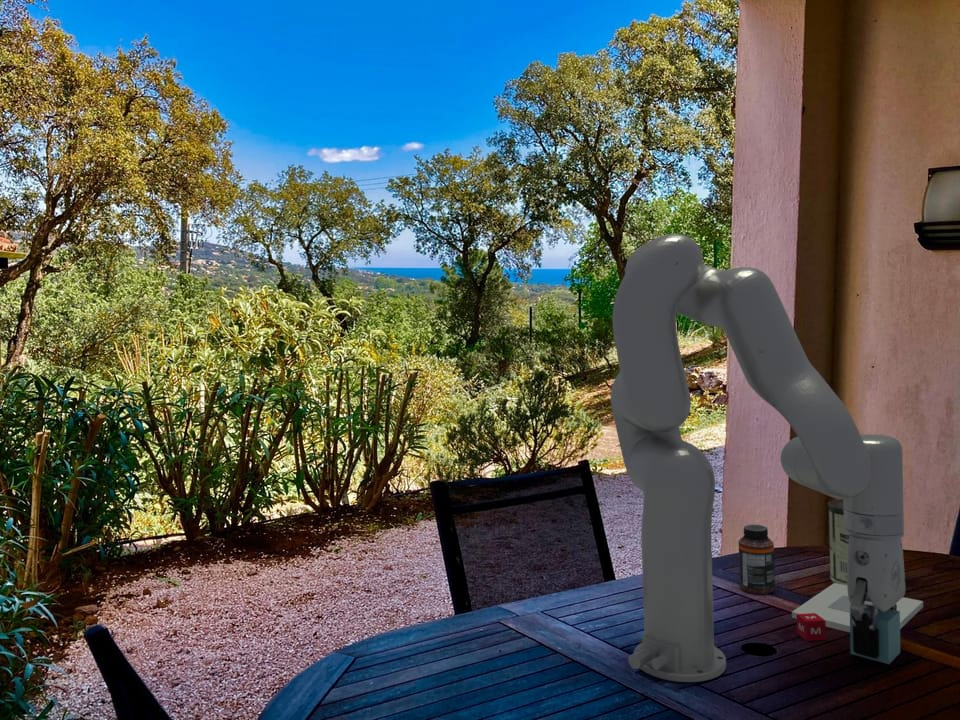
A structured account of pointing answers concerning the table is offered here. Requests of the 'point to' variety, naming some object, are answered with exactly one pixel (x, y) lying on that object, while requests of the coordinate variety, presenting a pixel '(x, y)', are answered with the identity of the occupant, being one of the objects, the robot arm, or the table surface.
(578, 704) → the table surface
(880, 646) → the teal block
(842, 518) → the coffee can
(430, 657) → the table surface
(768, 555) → the supplement bottle
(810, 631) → the red letter cube
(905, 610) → the pad
